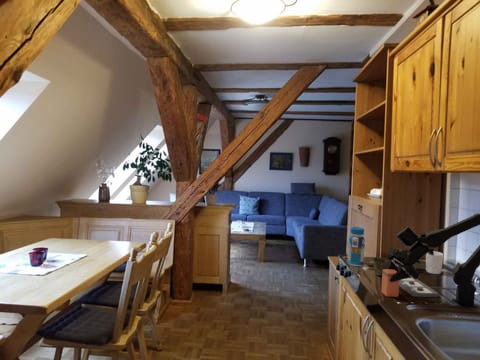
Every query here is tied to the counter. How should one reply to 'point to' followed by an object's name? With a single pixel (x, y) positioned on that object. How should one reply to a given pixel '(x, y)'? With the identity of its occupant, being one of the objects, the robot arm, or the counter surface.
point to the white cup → (434, 262)
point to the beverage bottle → (356, 247)
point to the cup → (380, 265)
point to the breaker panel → (417, 288)
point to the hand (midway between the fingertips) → (387, 278)
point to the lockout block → (389, 283)
